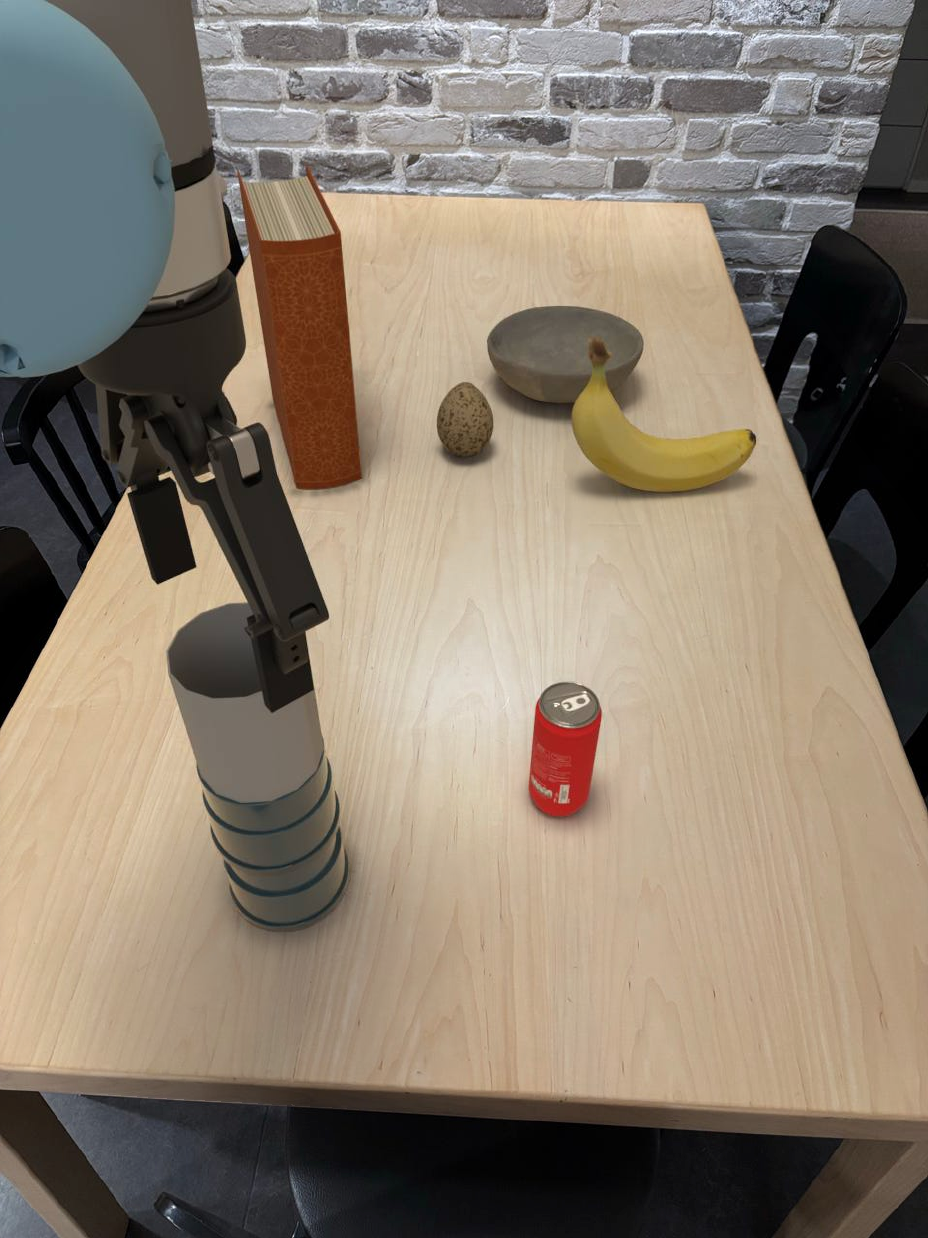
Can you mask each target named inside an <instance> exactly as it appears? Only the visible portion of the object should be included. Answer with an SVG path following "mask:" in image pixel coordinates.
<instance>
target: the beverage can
mask: <svg viewBox="0 0 928 1238" xmlns="http://www.w3.org/2000/svg"><path fill="white" fill-rule="evenodd" d="M602 718H603V710H602V707H601V704H600V700H599V698H598V696H597V694H596V693H595V692H594V691H593V690H592V689H590V688H589V686H586V685H584V684H582V683H579V682H575V681H561V682H559V681H558V682H556V683H553V684H551V685H549V686H548V687H546V688H545V689H544V690H543V691H542V693H541V694H540V696H539V698H538V700H537V701H536V704H535V708H534V718H533V719H534V720H533V731H532V743H531V744H532V745H531V753H530V766H529V767H530V768H529V776H528V777H529V778H528V791H529V795H530V797H531V799H532V800H533V802H534V804H535V806H536V807H537V809H539V810H540V811H541V812H542V813H544V814H546V815H548V816H551V817H555V818H564V817H568V816H572V815H573V814H575V813H576V812H578V811H579V810H580V809H581V808H582V807H583V806H584V805H585V804H586V802H587V801H588V798H589V796H590V792H591V791H590V790H591V783H592V778H593V773H594V767H595V760H596V754H597V749H598V742H599V736H600V730H601V723H602Z"/></svg>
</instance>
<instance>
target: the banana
mask: <svg viewBox="0 0 928 1238" xmlns="http://www.w3.org/2000/svg"><path fill="white" fill-rule="evenodd" d="M588 350H589V354H588V358H589V359H590V361H591V363H592V366H593V372H592V376H591V379H590V381H589V383H588V385H587V386H586V388H585V389H584V390H583V392H582V393H581V394H580V396H579V397H578V399H577V400H576V402H575V403H573V407H572V412H571V427H572V433H573V435H574V438H575V441H576V443H577V445H578V447H579V448H580V451H581V452H582V454H583V455H584V456H585V458H586V459H587V460H588V461H589V462H590V463H592V465H593V466H594V467H595V468H597V469H598V470H599V471H600V472H602V473H603V474H604V475H606V476H607V477H609V478H611V479H612V480H614V481H616V482H618V483H620V484H622V485H624V486H627V487H629V488H632V489H636V490H640V491H645V492H657V493H658V492H662V493H666V492H667V493H668V492H669V493H670V492H671V493H672V492H683V491H691V490H696V489H700V488H704V487H707V486H709V485H712V484H716V483H718V482H720V481H722V480H724V479H726V478H728V477H730V476H731V475H732V474H734V473H736V472H737V471H738V470H740V469H741V467H743V465H744V464H745V463H746V462H747V461H748V460H749V458H750V457H751V455H752V453H753V451H754V449H755V447H756V445H757V436H756V434H755V433H754V432H753V430H751V429H749V428H743V429H742V428H741V429H733V430H726V431H721V432H716V433H711V434H707V435H703V436H699V437H697V436H696V437H691V438H690V437H689V438H664V437H657V436H654V435H651V434H648V433H645V432H644V431H641V430H640V429H639V428H637V427H636V426H634V425H633V424H632V423H631V422H630V421H629V420H628V419H627V417H626V416H625V415H624V412H622V410H621V408H620V406H619V405H618V403H617V401H616V399H615V397H614V396H613V394H612V391H611V392H610V390H609V389H608V386H607V382H606V377H605V365H606V362H607V360H608V359H609V358H611V357H612V354H611V353H610V351H609V350H608V349H606V347H605V343H604V340H603V339H602V338H596V337H595V338H594V337H593V338H591V339H589V340H588Z"/></svg>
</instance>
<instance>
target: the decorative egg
mask: <svg viewBox="0 0 928 1238" xmlns="http://www.w3.org/2000/svg"><path fill="white" fill-rule="evenodd" d="M436 432H437V435H438V438H439V440H440V443H441V444H442V445H443V447H444V448H445V449H446V450H447V451H448V452H449V453H450V454H453V455H455V456H457V457H461V458H469V457H474V456H475V455H478V454H479V453H481V452H482V451H483V450H484V449H485V448H486V447H487V446H488V445H489V443H490V441H491V439H492V435H493V432H494V416H493V411H492V407H491V405H490V404H489V401H488V399H487V397H486V396H485V395H484V393H483V392H482V391H481V390H480V389H479V388H478V387H477V386H476V385H474V384H473V383H471V382H468V381H462V382H459V383H458V384H456V385H455V386H454V387H452V388H451V389H450V390H449V391H448V393H447V394H446V395H445V396H444V398H443V399H442V401H441V402H440V405H439V407H438V411H437V416H436Z"/></svg>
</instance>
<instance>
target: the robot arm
mask: <svg viewBox="0 0 928 1238" xmlns="http://www.w3.org/2000/svg"><path fill="white" fill-rule="evenodd" d="M198 45H199V44H198V40H197V31H196V24H195V19H194V12H193V7H192V1H191V0H0V378H13V377H14V378H16V377H18V378H22V379H23V378H34V377H36V378H37V377H42V376H43V377H44V376H46V375H50V374H55V373H59V372H63V371H65V370H68V369H70V368H73V367H76V366H77V367H78V369H79V370H80V372H81V374H82V375H83V376H84V377H85V378H86V379H87V380H89V381H90V383H92V384H94V385H95V394H96V405H97V407H96V408H97V417H98V418H97V419H98V430H99V443H100V451H101V452H100V453H101V454H100V455H101V457H102V459H103V460H104V461H105V462H106V463H107V465H109V466H113V465H114V464H117V468H116V474H117V479H118V482H120V484H121V485H122V486H123V487H124V488H125V489H129V488H130V491H129V492H127V493H126V496H127V498H128V499H127V500H128V503H129V506H130V509H131V512H132V516H133V520H134V522H135V526H136V530H137V532H138V536H139V540H140V543H141V547H142V549H143V553H144V557H145V560H146V563H147V567H148V570H149V574H150V576H151V579H152V580H153V582H154V583H155V584H156V585H160V584H162V583H165V582H167V581H170V580H171V579H174V578H177V577H179V576H180V575H183V574H185V573H188V572H189V571H191V570H195V569H196V568H197V562H196V558H195V554H194V551H193V546H192V543H191V539H190V538H191V537H190V534H189V530H188V527H187V522H186V519H185V514H184V511H183V506H182V503H181V497H180V494H179V490H178V488H179V489H180V492H181V493H182V495H183V497H184V499H185V501H186V502H187V503H188V504H190V505H194V506H197V507H199V508H200V509H201V510H202V513H203V515H204V517H205V519H206V521H207V523H208V525H209V527H210V529H211V531H212V533H213V535H214V536H215V539H216V541H217V544H218V545H219V548H220V550H221V551H222V553H223V556H224V557H225V559H226V561H227V563H228V566H229V567H230V569H231V572H232V573H233V576H234V578H235V580H236V581H237V584H238V585H239V587H240V590H241V592H242V594H243V596H244V597H245V600H246V602H248V604H249V606H250V608H251V610H252V612H253V615H251V616H249V617H247V623H248V626H247V627H245V628H244V630H245V631H246V633H247V634H248V636H249V637H250V638H251V642H252V647H253V652H254V656H255V661H256V666H257V671H258V675H259V680H260V685H261V690H262V694H263V699H264V704H265V706H266V707H267V708H268V709H269V710H270V712H271V713H273V712H275V711H277V710H279V709H280V708H282V707H284V706H286V705H288V704H289V703H291V702H293V701H295V700H297V699H298V698H300V697H302V696H304V695H306V694H307V693H309V692H311V691H313V690H314V689H315V684H314V685H313V683H314V677H313V671H311V670H312V665H310V664H311V659H310V653H309V645H308V639H307V632H308V631H309V630H311V629H313V628H316V627H317V626H320V625H321V624H323V623H325V622H327V621H329V619H330V613H329V610H328V607H327V604H326V602H325V598H324V596H323V593H322V590H321V588H320V586H319V583H318V579H317V578H316V577H317V576H316V574H315V572H314V569H313V567H312V563H311V561H310V559H309V556H308V553H307V550H306V548H305V545H304V542H303V540H302V539H303V538H302V537H301V534H300V532H299V529H298V526H297V523H296V520H295V518H294V516H293V512H292V509H291V507H290V505H289V502H288V499H287V496H286V494H285V491H284V489H283V486H282V483H281V480H280V478H279V475H278V471H277V467H276V462H275V458H274V452H273V449H272V448H273V447H272V443H271V439H270V435H269V432H268V431H267V429H266V427H265V425H263V424H262V423H261V422H254V423H251V424H249V425H247V426H244V427H242V428H240V427H239V426H238V418H237V415H236V413H235V410H234V408H233V407H232V404H231V402H230V401H229V398H228V397H227V396H226V395H225V392H224V391H223V386H224V383H225V382H226V380H227V378H228V376H229V375H230V374H231V372H232V371H233V370H234V368H236V367H237V366H238V365H239V363H240V362H241V361H242V359H243V357H244V355H245V353H246V348H247V338H246V332H245V331H246V330H245V325H244V319H243V314H242V313H243V312H242V308H241V301H240V294H239V289H238V283H237V279H236V276H235V275H234V273H233V272H232V271H231V270H230V269H228V268H227V267H228V266H229V264H230V263H231V259H232V254H231V248H230V241H229V237H228V229H227V223H226V217H225V210H224V205H223V199H222V198H224V197H225V196H226V195H227V192H228V187H227V181H226V180H225V179H224V178H223V177H222V175H220V174H219V173H218V169H217V164H216V155H215V150H214V144H213V143H214V141H213V135H212V128H211V122H210V115H209V109H208V103H207V95H206V89H205V84H204V78H203V77H204V76H203V71H202V64H201V58H200V50H199V46H198ZM170 472H171V473H172V475H173V477H174V479H175V480H174V479H173V478H172V477H171V476H168V477H165V478H162V479H160V476H162V475H164V474H167V473H170ZM208 473H211V474H212V475H214V477H213V478H210V479H208V480H206V481H199V480H197V477H201V476H203V475H206V474H208ZM312 677H313V678H312Z"/></svg>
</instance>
